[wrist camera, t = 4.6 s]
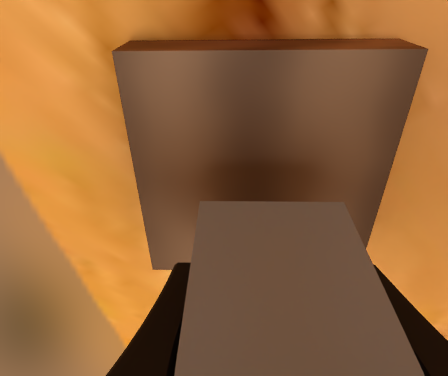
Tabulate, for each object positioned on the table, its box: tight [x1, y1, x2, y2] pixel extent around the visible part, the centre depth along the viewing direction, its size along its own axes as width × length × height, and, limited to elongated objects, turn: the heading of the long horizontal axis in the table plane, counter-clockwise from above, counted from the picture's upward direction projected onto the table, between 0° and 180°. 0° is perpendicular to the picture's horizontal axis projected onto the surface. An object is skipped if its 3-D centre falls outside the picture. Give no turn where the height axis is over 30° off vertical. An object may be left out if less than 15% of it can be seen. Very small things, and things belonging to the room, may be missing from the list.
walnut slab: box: [112, 39, 428, 270], centre depth 17 cm, size 12×12×3 cm
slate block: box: [174, 201, 425, 376], centre depth 10 cm, size 5×5×6 cm
